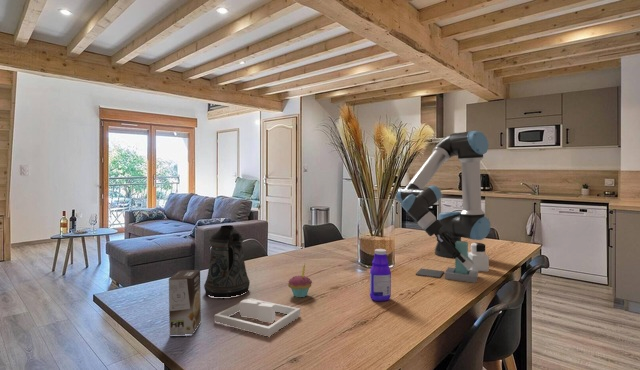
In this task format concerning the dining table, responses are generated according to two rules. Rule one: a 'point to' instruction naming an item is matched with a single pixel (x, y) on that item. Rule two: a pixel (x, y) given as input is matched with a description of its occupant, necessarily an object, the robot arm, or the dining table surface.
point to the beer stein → (226, 264)
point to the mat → (430, 273)
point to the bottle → (380, 277)
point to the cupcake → (300, 284)
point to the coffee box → (184, 302)
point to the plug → (463, 249)
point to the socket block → (461, 275)
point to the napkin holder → (258, 310)
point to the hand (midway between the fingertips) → (471, 266)
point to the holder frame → (261, 329)
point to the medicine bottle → (479, 257)
